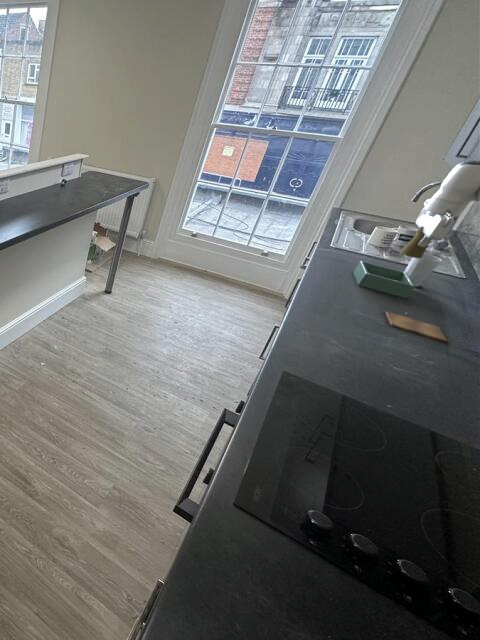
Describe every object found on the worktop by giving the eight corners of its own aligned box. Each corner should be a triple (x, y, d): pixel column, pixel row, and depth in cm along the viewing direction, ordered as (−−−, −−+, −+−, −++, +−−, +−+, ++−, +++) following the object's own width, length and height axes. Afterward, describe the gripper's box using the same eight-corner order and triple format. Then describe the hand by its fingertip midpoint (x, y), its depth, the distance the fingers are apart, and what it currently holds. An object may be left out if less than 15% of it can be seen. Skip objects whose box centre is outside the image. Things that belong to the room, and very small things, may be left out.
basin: (397, 283, 165) (405, 272, 162) (405, 298, 154) (414, 286, 151) (353, 272, 171) (360, 260, 169) (358, 285, 161) (366, 273, 158)
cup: (404, 285, 164) (424, 259, 158) (391, 276, 171) (410, 251, 165) (426, 288, 163) (447, 263, 157) (413, 279, 170) (432, 254, 163)
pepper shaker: (399, 253, 150) (418, 226, 144) (400, 249, 153) (419, 222, 148) (421, 259, 146) (442, 232, 140) (421, 255, 150) (441, 228, 144)
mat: (437, 328, 137) (438, 326, 137) (446, 342, 130) (447, 340, 130) (384, 312, 143) (386, 311, 143) (390, 325, 136) (391, 324, 136)
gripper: (466, 217, 131) (438, 255, 138) (448, 203, 146) (423, 237, 153) (440, 212, 134) (414, 249, 141) (425, 199, 149) (401, 233, 156)
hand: (418, 243), depth 147 cm, fingers closed on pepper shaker, 4 cm apart
